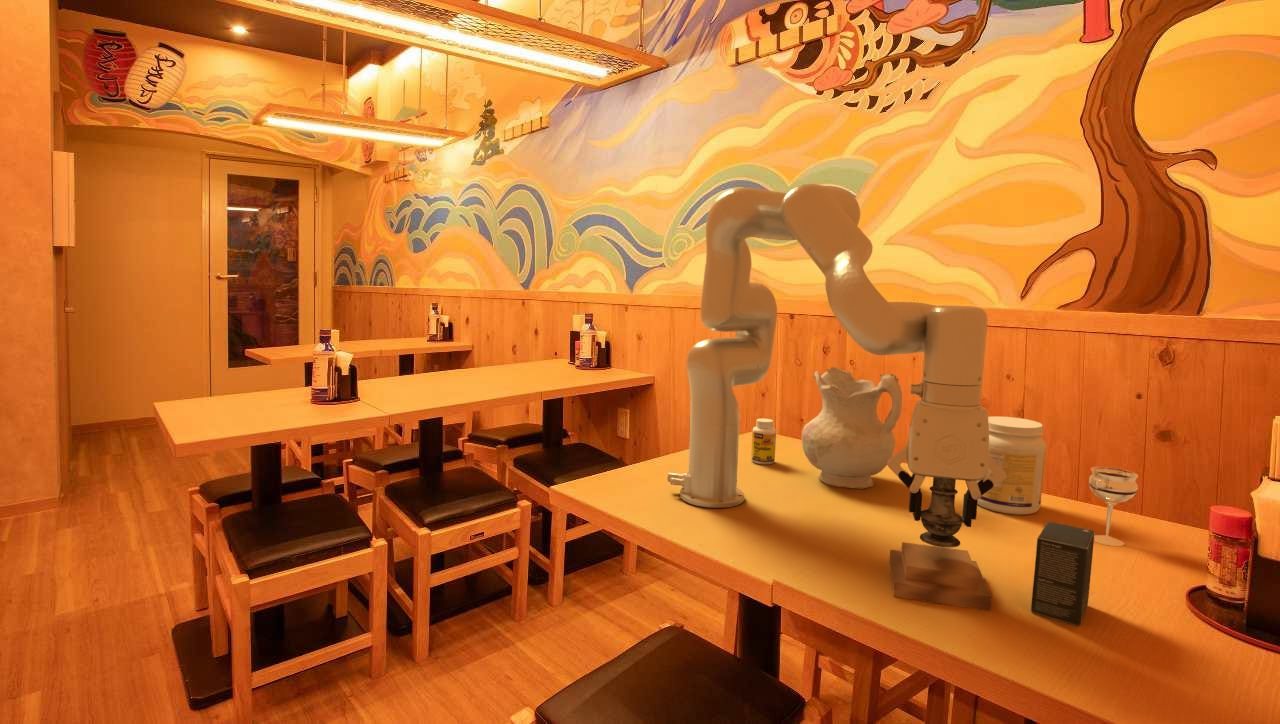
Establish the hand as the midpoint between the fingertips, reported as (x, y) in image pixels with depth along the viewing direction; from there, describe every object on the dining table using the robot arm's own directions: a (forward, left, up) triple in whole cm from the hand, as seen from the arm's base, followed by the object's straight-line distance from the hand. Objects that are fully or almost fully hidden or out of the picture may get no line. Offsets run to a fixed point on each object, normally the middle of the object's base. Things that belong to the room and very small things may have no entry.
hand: (941, 519), depth 94 cm
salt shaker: (0, 0, -3) cm, 3 cm away
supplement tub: (+17, +43, -10) cm, 47 cm away
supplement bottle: (-32, +57, -10) cm, 66 cm away
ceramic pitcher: (-12, +48, -10) cm, 50 cm away
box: (+15, -2, -10) cm, 18 cm away
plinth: (0, 0, -10) cm, 10 cm away
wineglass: (+30, +29, -10) cm, 43 cm away
